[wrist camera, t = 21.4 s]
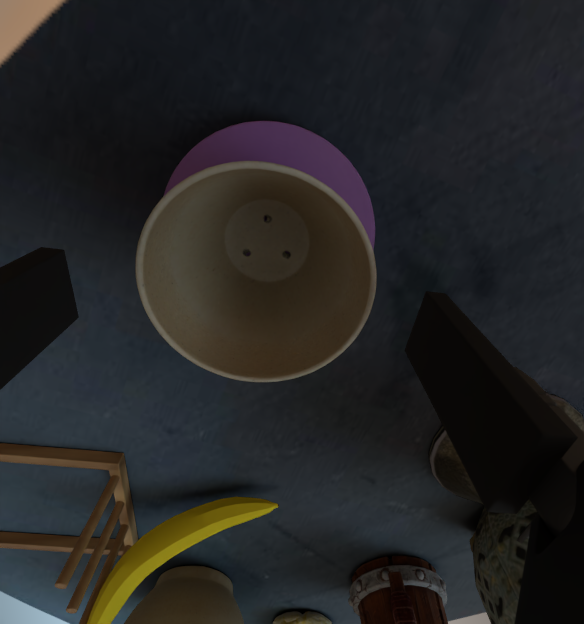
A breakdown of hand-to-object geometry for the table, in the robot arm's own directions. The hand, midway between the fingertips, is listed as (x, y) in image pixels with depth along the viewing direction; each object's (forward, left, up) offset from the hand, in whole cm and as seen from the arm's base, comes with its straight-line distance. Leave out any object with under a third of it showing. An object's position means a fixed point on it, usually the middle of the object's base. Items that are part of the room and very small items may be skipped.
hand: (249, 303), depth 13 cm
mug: (+40, +19, -10) cm, 46 cm away
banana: (+29, -7, -8) cm, 31 cm away
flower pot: (0, 0, -9) cm, 9 cm away
